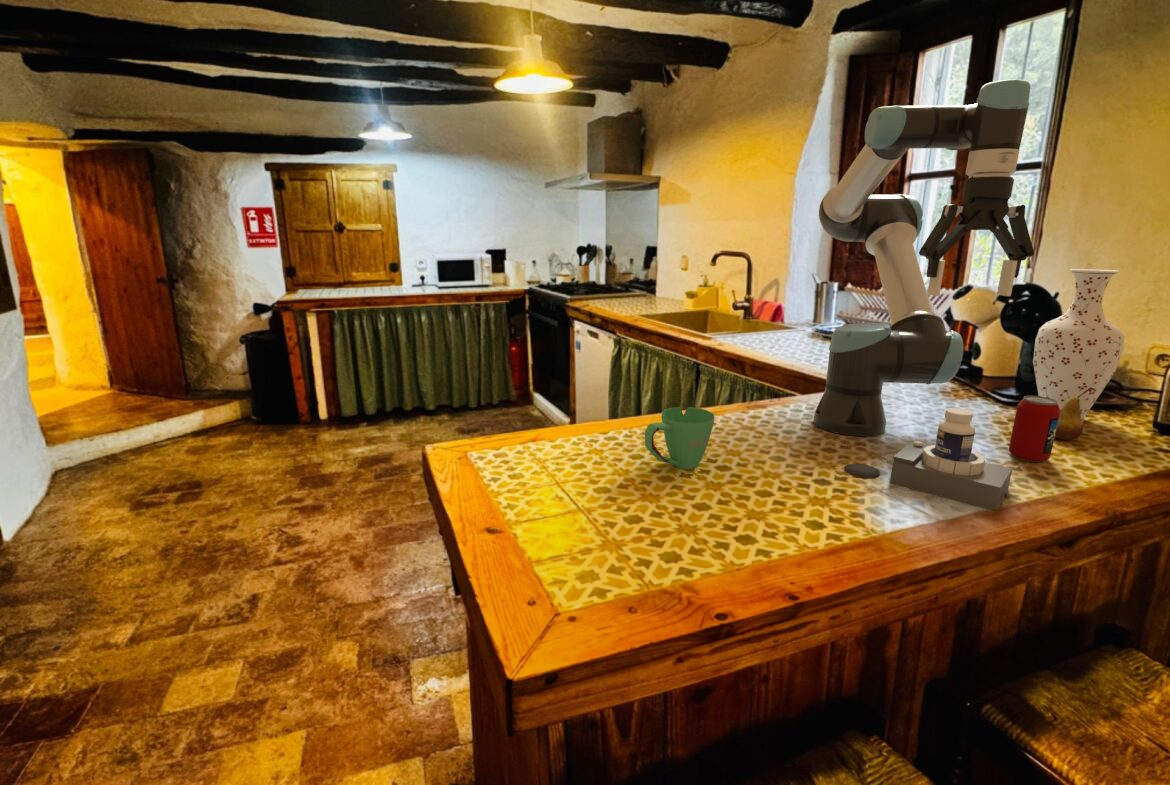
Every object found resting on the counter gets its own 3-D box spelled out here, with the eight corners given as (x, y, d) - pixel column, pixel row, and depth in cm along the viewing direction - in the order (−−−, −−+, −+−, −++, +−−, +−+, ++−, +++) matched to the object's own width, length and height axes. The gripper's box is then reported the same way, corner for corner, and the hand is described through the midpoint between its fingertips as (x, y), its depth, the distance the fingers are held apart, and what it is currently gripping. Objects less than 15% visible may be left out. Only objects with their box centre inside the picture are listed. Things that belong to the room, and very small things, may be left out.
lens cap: (837, 471, 112) (837, 467, 112) (856, 465, 116) (856, 461, 115) (867, 482, 108) (867, 478, 107) (886, 475, 111) (886, 471, 111)
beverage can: (1056, 465, 115) (1070, 405, 112) (1017, 462, 117) (1029, 403, 113) (1038, 452, 122) (1050, 395, 118) (1001, 450, 123) (1012, 393, 120)
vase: (1005, 412, 149) (1033, 268, 140) (1046, 405, 155) (1076, 267, 146) (1078, 431, 135) (1115, 273, 125) (1120, 423, 141) (1158, 271, 131)
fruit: (1060, 433, 133) (1071, 381, 130) (1086, 442, 128) (1100, 388, 125) (1040, 435, 132) (1052, 382, 129) (1066, 444, 126) (1079, 389, 123)
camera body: (889, 482, 107) (894, 451, 105) (907, 465, 115) (912, 435, 113) (995, 510, 96) (1003, 475, 95) (1008, 489, 104) (1014, 457, 103)
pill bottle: (925, 461, 106) (933, 408, 103) (946, 457, 108) (955, 405, 105) (953, 472, 101) (963, 417, 98) (975, 467, 103) (985, 413, 100)
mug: (686, 451, 121) (689, 404, 119) (722, 467, 113) (726, 416, 111) (629, 466, 113) (630, 416, 111) (663, 484, 106) (665, 430, 103)
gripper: (933, 174, 104) (914, 297, 110) (1074, 175, 105) (1048, 297, 110) (909, 177, 111) (893, 292, 117) (1041, 178, 112) (1018, 293, 118)
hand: (968, 295), depth 114 cm, fingers open, 13 cm apart
